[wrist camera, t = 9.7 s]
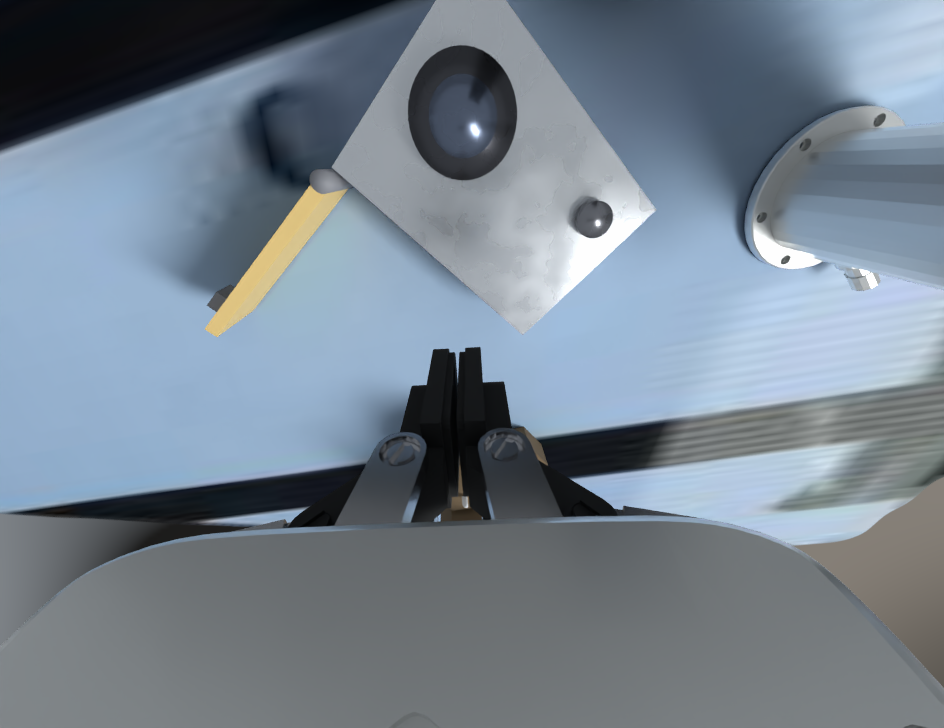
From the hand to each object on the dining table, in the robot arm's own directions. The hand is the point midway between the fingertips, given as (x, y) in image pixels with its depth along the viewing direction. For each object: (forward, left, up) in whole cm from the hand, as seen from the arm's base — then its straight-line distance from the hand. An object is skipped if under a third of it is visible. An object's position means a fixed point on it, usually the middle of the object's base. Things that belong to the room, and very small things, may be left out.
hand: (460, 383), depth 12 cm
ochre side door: (+11, +9, -22) cm, 26 cm away
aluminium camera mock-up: (+1, -6, -22) cm, 23 cm away
